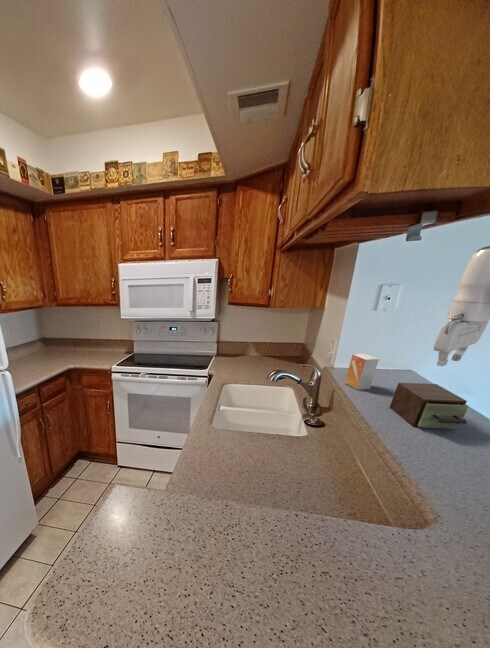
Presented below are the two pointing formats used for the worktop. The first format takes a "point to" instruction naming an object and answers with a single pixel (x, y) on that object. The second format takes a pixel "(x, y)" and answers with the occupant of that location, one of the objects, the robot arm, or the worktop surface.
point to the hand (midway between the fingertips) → (448, 363)
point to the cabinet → (419, 399)
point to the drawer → (442, 415)
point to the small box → (361, 371)
